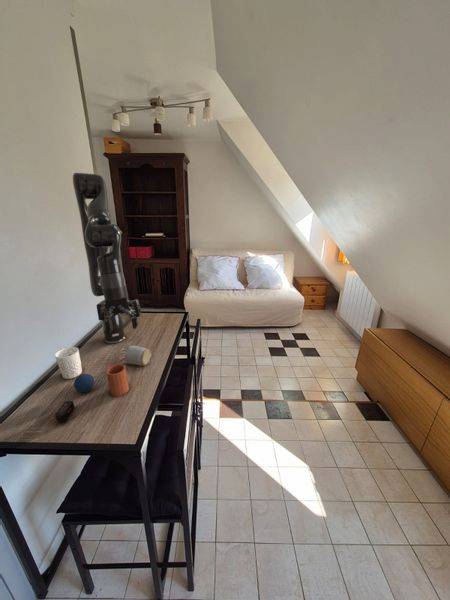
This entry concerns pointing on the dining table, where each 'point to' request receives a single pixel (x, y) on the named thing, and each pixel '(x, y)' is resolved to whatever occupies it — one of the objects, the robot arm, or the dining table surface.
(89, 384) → the ball
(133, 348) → the ceramic mug
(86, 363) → the dining table surface
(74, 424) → the dining table surface
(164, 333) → the dining table surface
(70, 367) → the white cup
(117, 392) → the cup
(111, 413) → the dining table surface
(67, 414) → the wireless earbuds
